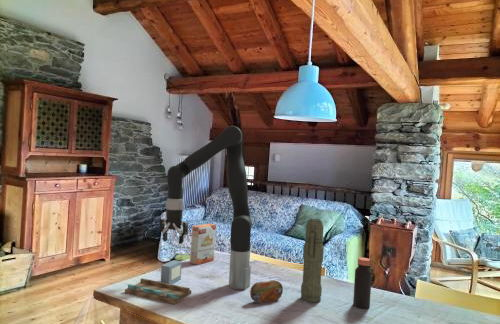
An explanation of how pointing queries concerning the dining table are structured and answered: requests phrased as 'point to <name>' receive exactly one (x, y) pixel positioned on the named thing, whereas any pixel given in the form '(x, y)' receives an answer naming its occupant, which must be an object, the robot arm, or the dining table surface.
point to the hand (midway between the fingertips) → (172, 242)
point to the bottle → (362, 284)
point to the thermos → (312, 262)
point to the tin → (266, 291)
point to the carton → (171, 272)
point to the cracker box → (202, 243)
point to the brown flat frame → (158, 291)
